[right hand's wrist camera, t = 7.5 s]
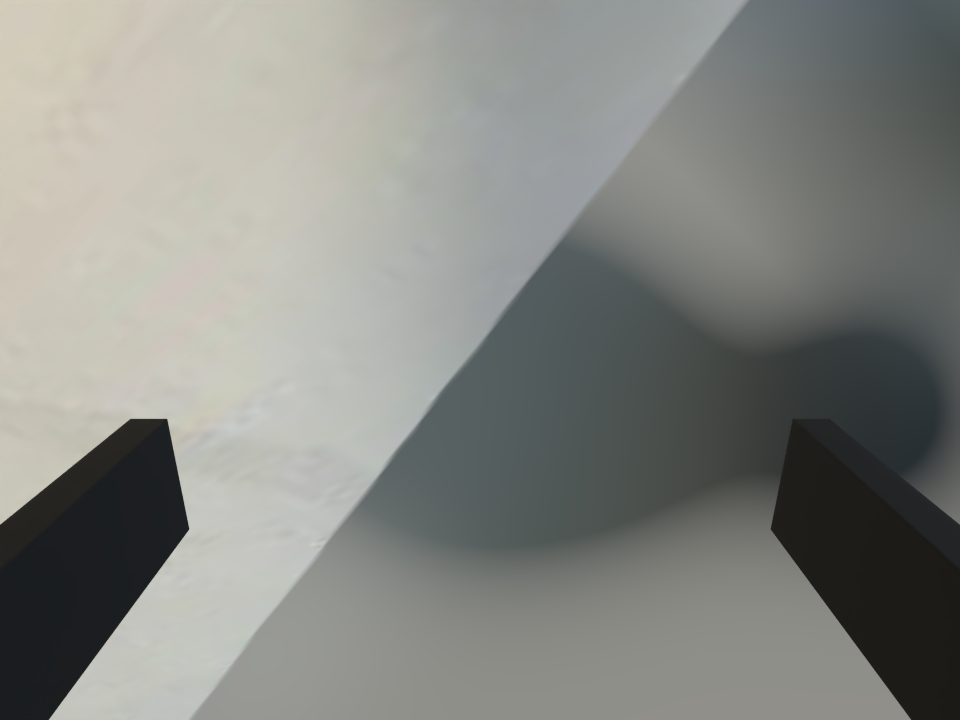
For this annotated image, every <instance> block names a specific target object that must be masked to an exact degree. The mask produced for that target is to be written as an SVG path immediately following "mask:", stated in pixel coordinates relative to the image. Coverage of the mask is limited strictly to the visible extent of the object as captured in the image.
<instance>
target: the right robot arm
mask: <svg viewBox="0 0 960 720" xmlns="http://www.w3.org/2000/svg"><path fill="white" fill-rule="evenodd" d="M188 530H189V526H188V521H187V516H186V511H185V506H184V501H183V496H182V491H181V486H180V481H179V476H178V471H177V466H176V461H175V456H174V451H173V446H172V441H171V436H170V431H169V426H168V421H167V419H130V420H129V421H127V422H126V423H125V424H124V425H123V426H121V427H120V428H119V429H118V430H116V431H115V432H114V433H113V434H111V435H110V436H109V437H108V438H107V439H105V440H104V441H103V442H102V443H100V444H99V445H98V446H97V447H95V448H94V449H93V450H92V451H91V452H89V453H88V454H87V455H86V456H84V457H83V458H82V459H81V460H79V461H78V462H77V463H76V464H75V465H73V466H72V467H71V468H70V469H68V470H67V471H66V472H65V473H63V474H62V475H61V476H60V477H59V478H57V479H56V480H55V481H54V482H52V483H51V484H50V485H49V486H47V487H46V488H45V489H44V490H43V491H41V492H40V493H39V494H38V495H36V496H35V497H34V498H33V499H31V500H30V501H29V502H28V503H26V504H25V505H24V506H23V507H22V508H20V509H19V510H18V511H17V512H15V513H14V514H13V515H12V516H10V517H9V518H8V519H7V520H6V521H4V522H3V523H2V524H1V525H0V720H49V719H50V717H51V716H52V715H53V713H54V712H55V710H56V709H57V708H58V706H59V705H60V704H61V702H62V701H63V700H64V698H65V697H66V696H67V694H68V693H69V692H70V690H71V689H72V687H73V686H74V685H75V683H76V682H77V681H78V679H79V678H80V677H81V675H82V674H83V673H84V671H85V670H86V668H87V667H88V666H89V664H90V663H91V662H92V660H93V659H94V658H95V656H96V655H97V654H98V652H99V651H100V650H101V648H102V647H103V645H104V644H105V643H106V641H107V640H108V639H109V637H110V636H111V635H112V633H113V632H114V631H115V629H116V628H117V626H118V625H119V624H120V622H121V621H122V620H123V618H124V617H125V616H126V614H127V613H128V612H129V610H130V609H131V608H132V606H133V605H134V603H135V602H136V601H137V599H138V598H139V597H140V595H141V594H142V593H143V591H144V590H145V589H146V587H147V586H148V584H149V583H150V582H151V580H152V579H153V578H154V576H155V575H156V574H157V572H158V571H159V570H160V568H161V567H162V566H163V564H164V563H165V561H166V560H167V559H168V557H169V556H170V555H171V553H172V552H173V551H174V549H175V548H176V547H177V545H178V544H179V542H180V541H181V540H182V538H183V537H184V536H185V534H186V533H187V532H188ZM771 530H772V531H773V533H774V534H775V536H776V537H777V538H778V540H779V541H780V542H781V544H782V545H783V547H784V548H785V549H786V551H787V552H788V553H789V555H790V556H791V557H792V559H793V560H794V561H795V563H796V564H797V565H798V567H799V568H800V570H801V571H802V572H803V574H804V575H805V576H806V578H807V579H808V580H809V582H810V583H811V584H812V586H813V587H814V589H815V590H816V591H817V592H818V594H819V595H820V597H821V598H822V599H823V601H824V602H825V603H826V605H827V606H828V608H829V609H830V610H831V612H832V613H833V614H834V616H835V617H836V618H837V620H838V621H839V622H840V624H841V625H842V626H843V628H844V629H845V630H846V632H847V633H848V635H849V636H850V637H851V639H852V640H853V641H854V643H855V644H856V645H857V647H858V648H859V650H860V651H861V652H862V654H863V655H864V656H865V658H866V659H867V660H868V662H869V663H870V664H871V666H872V667H873V668H874V670H875V671H876V673H877V674H878V675H879V677H880V678H881V679H882V681H883V682H884V683H885V685H886V686H887V687H888V689H889V690H890V692H891V693H892V694H893V695H894V697H895V698H896V700H897V701H898V702H899V704H900V705H901V706H902V708H903V709H904V710H905V712H906V713H907V715H908V716H909V717H910V719H911V720H960V525H959V524H958V523H957V522H956V521H954V520H953V519H952V518H951V517H950V516H948V515H947V514H946V513H945V512H943V511H942V510H941V509H940V508H938V507H937V506H936V505H935V504H933V503H932V502H931V501H930V500H929V499H927V498H926V497H925V496H924V495H922V494H921V493H920V492H919V491H917V490H916V489H915V488H914V487H913V486H911V485H910V484H909V483H908V482H906V481H905V480H904V479H903V478H901V477H900V476H899V475H898V474H897V473H895V472H894V471H893V470H892V469H890V468H889V467H888V466H887V465H885V464H884V463H883V462H882V461H880V460H879V459H878V458H877V457H876V456H874V455H873V454H872V453H871V452H869V451H868V450H867V449H866V448H864V447H863V446H862V445H861V444H860V443H858V442H857V441H856V440H855V439H853V438H852V437H851V436H850V435H849V434H847V433H846V432H845V431H844V430H842V429H841V428H840V427H839V426H837V425H836V424H835V423H834V422H832V421H831V420H830V419H793V421H792V426H791V431H790V436H789V441H788V446H787V451H786V456H785V461H784V466H783V471H782V476H781V481H780V486H779V491H778V496H777V501H776V506H775V511H774V516H773V521H772V526H771Z"/></svg>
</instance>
